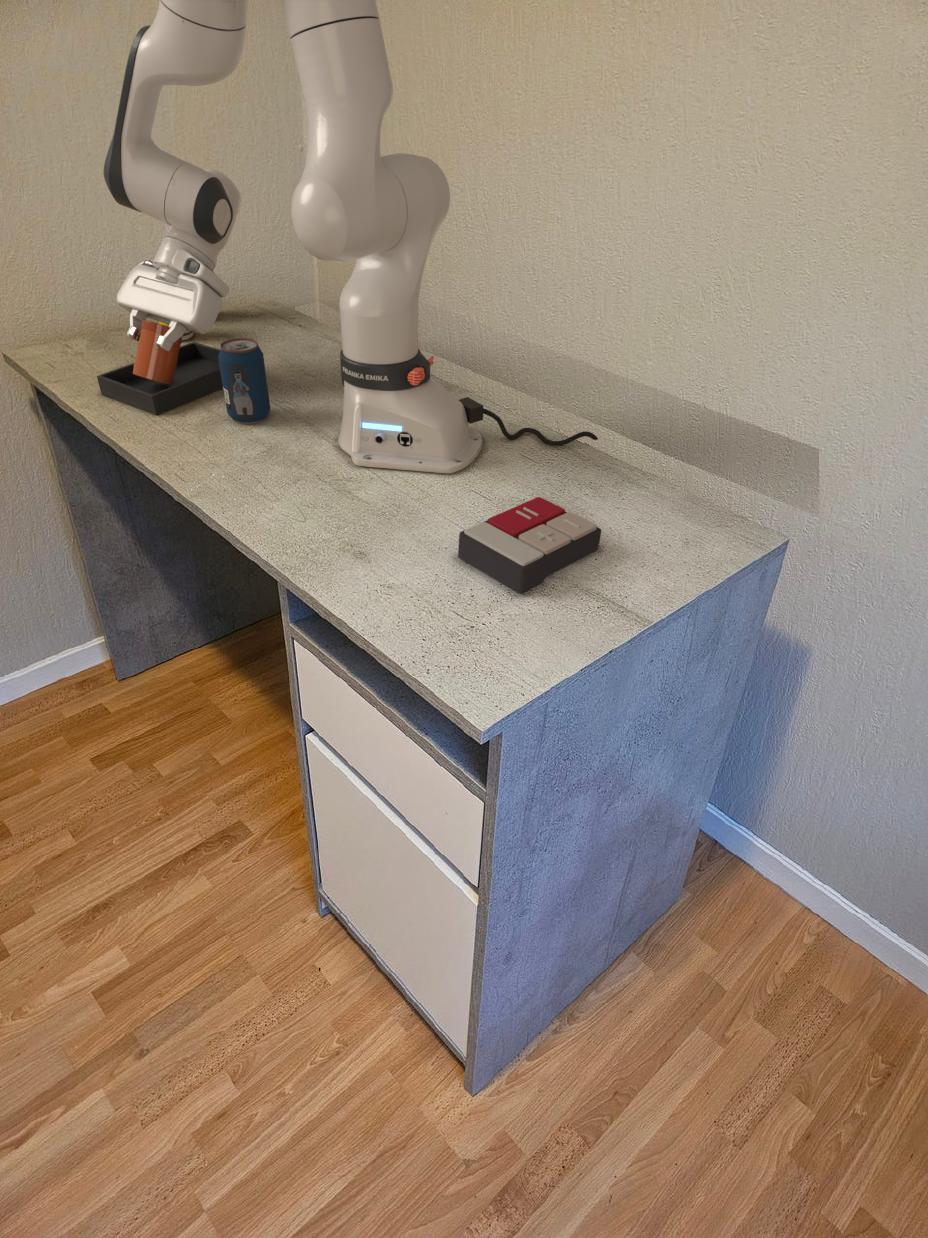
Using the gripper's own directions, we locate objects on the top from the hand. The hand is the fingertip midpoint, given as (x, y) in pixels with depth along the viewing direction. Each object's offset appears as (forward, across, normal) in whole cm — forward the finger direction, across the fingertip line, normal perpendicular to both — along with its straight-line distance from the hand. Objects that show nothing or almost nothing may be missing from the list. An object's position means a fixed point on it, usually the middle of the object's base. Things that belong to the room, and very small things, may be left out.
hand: (147, 343), depth 136 cm
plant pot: (+4, 0, +4) cm, 6 cm away
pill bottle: (-8, -20, +21) cm, 30 cm away
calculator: (+10, +78, +2) cm, 78 cm away
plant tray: (+3, 0, +9) cm, 10 cm away
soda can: (+4, +20, +8) cm, 22 cm away
